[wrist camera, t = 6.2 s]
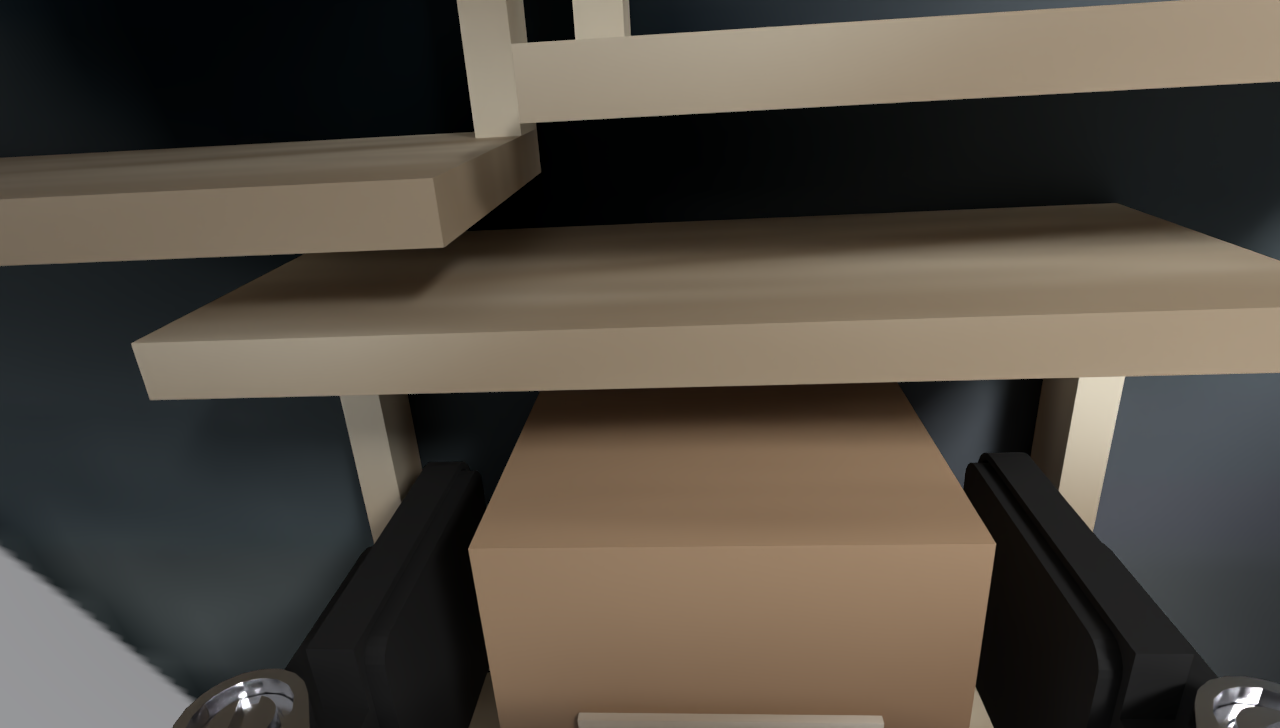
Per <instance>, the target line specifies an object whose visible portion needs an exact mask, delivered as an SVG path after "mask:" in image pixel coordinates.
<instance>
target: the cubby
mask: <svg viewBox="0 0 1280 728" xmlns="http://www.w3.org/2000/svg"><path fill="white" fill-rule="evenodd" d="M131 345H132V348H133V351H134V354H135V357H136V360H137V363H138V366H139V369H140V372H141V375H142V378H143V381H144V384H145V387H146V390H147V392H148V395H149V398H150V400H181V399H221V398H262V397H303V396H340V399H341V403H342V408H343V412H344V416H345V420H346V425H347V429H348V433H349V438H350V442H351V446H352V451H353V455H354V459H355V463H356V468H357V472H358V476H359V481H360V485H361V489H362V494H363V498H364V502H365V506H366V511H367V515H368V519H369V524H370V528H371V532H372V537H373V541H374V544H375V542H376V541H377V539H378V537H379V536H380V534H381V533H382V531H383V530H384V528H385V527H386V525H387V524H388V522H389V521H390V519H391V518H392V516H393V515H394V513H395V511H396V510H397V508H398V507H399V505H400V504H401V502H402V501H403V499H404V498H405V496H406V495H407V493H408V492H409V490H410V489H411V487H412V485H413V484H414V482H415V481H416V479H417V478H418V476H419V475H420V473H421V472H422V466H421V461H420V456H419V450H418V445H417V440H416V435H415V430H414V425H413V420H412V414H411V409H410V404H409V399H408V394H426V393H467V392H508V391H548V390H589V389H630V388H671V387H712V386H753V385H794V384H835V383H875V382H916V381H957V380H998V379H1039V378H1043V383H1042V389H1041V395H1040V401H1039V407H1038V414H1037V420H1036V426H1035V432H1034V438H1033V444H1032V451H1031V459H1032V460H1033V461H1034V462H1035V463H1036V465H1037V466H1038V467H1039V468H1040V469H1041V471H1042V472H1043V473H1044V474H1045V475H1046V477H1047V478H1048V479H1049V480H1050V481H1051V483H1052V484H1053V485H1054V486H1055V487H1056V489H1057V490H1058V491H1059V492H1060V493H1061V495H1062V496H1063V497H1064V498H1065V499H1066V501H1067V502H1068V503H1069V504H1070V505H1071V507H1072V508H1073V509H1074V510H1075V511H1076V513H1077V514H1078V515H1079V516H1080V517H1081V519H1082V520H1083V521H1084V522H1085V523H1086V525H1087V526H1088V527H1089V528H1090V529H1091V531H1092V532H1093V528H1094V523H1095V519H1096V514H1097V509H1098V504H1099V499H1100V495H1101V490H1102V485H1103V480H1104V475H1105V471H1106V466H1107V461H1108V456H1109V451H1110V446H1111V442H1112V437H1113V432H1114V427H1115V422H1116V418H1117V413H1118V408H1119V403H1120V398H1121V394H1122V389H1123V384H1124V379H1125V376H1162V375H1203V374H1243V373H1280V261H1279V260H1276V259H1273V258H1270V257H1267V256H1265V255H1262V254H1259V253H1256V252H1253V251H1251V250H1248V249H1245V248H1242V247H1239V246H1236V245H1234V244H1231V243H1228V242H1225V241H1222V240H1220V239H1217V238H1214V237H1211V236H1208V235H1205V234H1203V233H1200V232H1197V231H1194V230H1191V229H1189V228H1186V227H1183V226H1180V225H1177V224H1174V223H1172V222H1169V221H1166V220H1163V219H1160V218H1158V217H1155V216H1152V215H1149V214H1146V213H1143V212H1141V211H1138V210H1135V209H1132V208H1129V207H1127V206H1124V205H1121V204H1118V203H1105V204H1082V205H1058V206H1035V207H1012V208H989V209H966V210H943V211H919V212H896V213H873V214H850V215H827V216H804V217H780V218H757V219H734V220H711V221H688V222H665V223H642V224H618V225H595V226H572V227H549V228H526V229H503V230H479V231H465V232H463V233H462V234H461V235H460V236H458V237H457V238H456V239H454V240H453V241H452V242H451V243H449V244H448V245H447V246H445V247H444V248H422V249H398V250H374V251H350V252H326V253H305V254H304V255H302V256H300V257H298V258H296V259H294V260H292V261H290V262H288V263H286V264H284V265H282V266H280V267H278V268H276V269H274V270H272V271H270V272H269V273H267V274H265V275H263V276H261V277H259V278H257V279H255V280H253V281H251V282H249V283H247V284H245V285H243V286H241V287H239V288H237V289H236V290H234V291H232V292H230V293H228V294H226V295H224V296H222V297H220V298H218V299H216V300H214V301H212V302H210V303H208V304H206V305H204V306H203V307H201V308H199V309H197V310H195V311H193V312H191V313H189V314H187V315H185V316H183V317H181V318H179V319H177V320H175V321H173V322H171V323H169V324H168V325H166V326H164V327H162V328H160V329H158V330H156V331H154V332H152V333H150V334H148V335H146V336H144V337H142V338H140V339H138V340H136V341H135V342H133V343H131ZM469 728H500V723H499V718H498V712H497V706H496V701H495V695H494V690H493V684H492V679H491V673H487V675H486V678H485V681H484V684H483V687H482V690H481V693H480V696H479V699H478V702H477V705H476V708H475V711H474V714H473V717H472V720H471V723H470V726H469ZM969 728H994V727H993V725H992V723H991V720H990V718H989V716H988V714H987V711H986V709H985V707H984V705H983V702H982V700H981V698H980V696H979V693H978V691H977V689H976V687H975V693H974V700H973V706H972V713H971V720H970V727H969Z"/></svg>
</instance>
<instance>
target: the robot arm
mask: <svg viewBox="0 0 1280 728" xmlns="http://www.w3.org/2000/svg"><path fill="white" fill-rule="evenodd" d="M963 490H964V492H965V494H966V495H967V497H968V499H969V500H970V502H971V503H972V505H973V507H974V508H975V510H976V512H977V513H978V515H979V517H980V518H981V520H982V521H983V523H984V525H985V526H986V528H987V530H988V531H989V533H990V534H991V536H992V538H993V539H994V541H995V543H996V549H995V556H994V563H993V570H992V576H991V583H990V590H989V597H988V604H987V611H986V617H985V624H984V631H983V638H982V645H981V652H980V658H979V665H978V672H977V679H976V686H975V687H976V689H977V691H978V693H979V696H980V698H981V700H982V702H983V705H984V707H985V709H986V711H987V714H988V716H989V718H990V720H991V723H992V725H993V727H994V728H1280V684H1278V683H1275V682H1272V681H1267V680H1262V679H1257V678H1253V677H1248V676H1223V677H1220V678H1218V677H1217V676H1216V675H1215V673H1214V672H1213V671H1212V670H1211V669H1210V667H1209V666H1208V665H1207V664H1206V663H1205V661H1204V660H1203V659H1202V658H1201V657H1200V656H1199V654H1198V653H1197V652H1196V651H1195V650H1194V648H1193V647H1192V646H1191V645H1190V644H1189V642H1188V641H1187V640H1186V639H1185V638H1184V636H1183V635H1182V634H1181V633H1180V632H1179V631H1178V629H1177V628H1176V627H1175V626H1174V625H1173V623H1172V622H1171V621H1170V620H1169V619H1168V617H1167V616H1166V615H1165V614H1164V613H1163V611H1162V610H1161V609H1160V608H1159V607H1158V605H1157V604H1156V603H1155V602H1154V601H1153V600H1152V598H1151V597H1150V596H1149V595H1148V594H1147V592H1146V591H1145V590H1144V589H1143V588H1142V586H1141V585H1140V584H1139V583H1138V582H1137V580H1136V579H1135V578H1134V577H1133V576H1132V575H1131V573H1130V572H1129V571H1128V570H1127V569H1126V567H1125V566H1124V565H1123V564H1122V563H1121V561H1120V560H1119V559H1118V558H1117V557H1116V555H1115V554H1114V553H1113V552H1112V551H1111V550H1110V549H1109V548H1108V547H1107V546H1106V545H1105V544H1103V543H1101V541H1100V540H1099V539H1098V538H1097V537H1096V535H1095V534H1094V533H1093V532H1092V531H1091V529H1090V528H1089V527H1088V526H1087V525H1086V523H1085V522H1084V521H1083V520H1082V519H1081V517H1080V516H1079V515H1078V514H1077V513H1076V511H1075V510H1074V509H1073V508H1072V507H1071V505H1070V504H1069V503H1068V502H1067V501H1066V499H1065V498H1064V497H1063V496H1062V495H1061V493H1060V492H1059V491H1058V490H1057V489H1056V487H1055V486H1054V485H1053V484H1052V483H1051V481H1050V480H1049V479H1048V478H1047V477H1046V475H1045V474H1044V473H1043V472H1042V471H1041V469H1040V468H1039V467H1038V466H1037V465H1036V463H1035V462H1034V461H1033V460H1032V459H1031V457H1030V456H1029V455H1028V454H1026V453H1023V452H1011V453H983V454H982V455H981V456H980V459H979V461H978V463H970V464H968V466H967V468H966V473H965V481H964V489H963ZM485 511H486V503H485V496H484V490H483V484H482V478H481V475H480V473H479V471H470V469H469V466H468V464H467V463H466V462H429V463H428V464H427V465H426V466H425V467H424V469H423V470H422V472H421V473H420V475H419V476H418V478H417V479H416V481H415V482H414V484H413V485H412V487H411V489H410V490H409V492H408V493H407V495H406V496H405V498H404V499H403V501H402V502H401V504H400V505H399V507H398V508H397V510H396V511H395V513H394V515H393V516H392V518H391V519H390V521H389V522H388V524H387V525H386V527H385V528H384V530H383V531H382V533H381V534H380V536H379V537H378V539H377V541H376V542H375V544H374V545H373V546H372V547H369V548H367V549H366V550H365V551H364V552H363V553H362V554H361V556H360V557H359V559H358V560H357V562H356V563H355V565H354V566H353V568H352V569H351V571H350V572H349V574H348V575H347V577H346V578H345V580H344V581H343V583H342V584H341V586H340V587H339V589H338V590H337V592H336V593H335V595H334V596H333V598H332V599H331V601H330V602H329V604H328V605H327V607H326V608H325V610H324V611H323V613H322V614H321V616H320V617H319V619H318V620H317V622H316V623H315V625H314V626H313V628H312V629H311V631H310V632H309V634H308V635H307V637H306V638H305V640H304V641H303V643H302V644H301V646H300V647H299V649H298V650H297V652H296V653H295V655H294V656H293V658H292V659H291V661H290V662H289V664H288V665H287V667H286V668H285V670H283V669H260V670H256V671H251V672H247V673H243V674H240V675H238V676H235V677H233V678H231V679H228V680H226V681H223V682H221V683H220V684H218V685H217V686H215V687H213V688H212V689H210V690H208V691H207V692H205V693H204V694H202V695H201V696H200V697H199V698H198V699H196V700H195V701H194V702H193V703H192V704H191V705H190V706H189V707H187V708H186V709H185V711H184V712H183V713H182V715H181V716H180V717H179V719H178V720H177V721H176V722H175V724H174V725H173V728H469V726H470V723H471V720H472V717H473V714H474V711H475V708H476V705H477V702H478V699H479V696H480V693H481V690H482V687H483V684H484V681H485V678H486V675H487V672H488V669H489V662H488V656H487V651H486V645H485V640H484V634H483V629H482V623H481V617H480V612H479V606H478V601H477V595H476V590H475V584H474V578H473V573H472V567H471V562H470V556H469V551H468V548H469V546H470V544H471V541H472V539H473V537H474V535H475V533H476V530H477V528H478V526H479V524H480V522H481V519H482V517H483V515H484V513H485Z"/></svg>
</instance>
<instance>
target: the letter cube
mask: <svg viewBox="0 0 1280 728" xmlns="http://www.w3.org/2000/svg"><path fill="white" fill-rule="evenodd" d="M995 549H996V543H995V541H994V539H993V538H992V536H991V534H990V533H989V531H988V530H987V528H986V526H985V525H984V523H983V521H982V520H981V518H980V517H979V515H978V513H977V512H976V510H975V508H974V507H973V505H972V503H971V502H970V500H969V499H968V497H967V495H966V494H965V492H964V490H963V489H962V487H961V486H960V484H959V482H958V481H957V479H956V477H955V476H954V474H953V473H952V471H951V469H950V468H949V466H948V464H947V463H946V461H945V459H944V458H943V456H942V455H941V453H940V451H939V450H938V448H937V446H936V445H935V443H934V442H933V440H932V438H931V437H930V435H929V433H928V432H927V430H926V428H925V427H924V425H923V424H922V422H921V420H920V419H919V417H918V415H917V414H916V412H915V411H914V409H913V407H912V406H911V404H910V402H909V401H908V399H907V398H906V396H905V394H904V393H903V391H902V389H901V388H900V386H899V384H898V383H897V382H875V383H835V384H794V385H753V386H712V387H671V388H630V389H589V390H548V391H540V392H539V395H538V397H537V399H536V401H535V403H534V406H533V408H532V410H531V412H530V414H529V417H528V419H527V421H526V423H525V425H524V428H523V430H522V432H521V434H520V436H519V438H518V441H517V443H516V445H515V447H514V449H513V452H512V454H511V456H510V458H509V460H508V463H507V465H506V467H505V469H504V471H503V473H502V476H501V478H500V480H499V482H498V484H497V487H496V489H495V491H494V493H493V495H492V498H491V500H490V502H489V504H488V506H487V509H486V511H485V513H484V515H483V517H482V519H481V522H480V524H479V526H478V528H477V530H476V533H475V535H474V537H473V539H472V541H471V544H470V546H469V548H468V551H469V556H470V562H471V567H472V573H473V578H474V584H475V590H476V595H477V601H478V606H479V612H480V617H481V623H482V629H483V634H484V640H485V645H486V651H487V656H488V662H489V667H490V673H491V679H492V684H493V690H494V695H495V701H496V706H497V712H498V718H499V723H500V728H969V727H970V720H971V713H972V706H973V700H974V693H975V686H976V679H977V672H978V665H979V658H980V652H981V645H982V638H983V631H984V624H985V617H986V611H987V604H988V597H989V590H990V583H991V576H992V570H993V563H994V556H995Z"/></svg>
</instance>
